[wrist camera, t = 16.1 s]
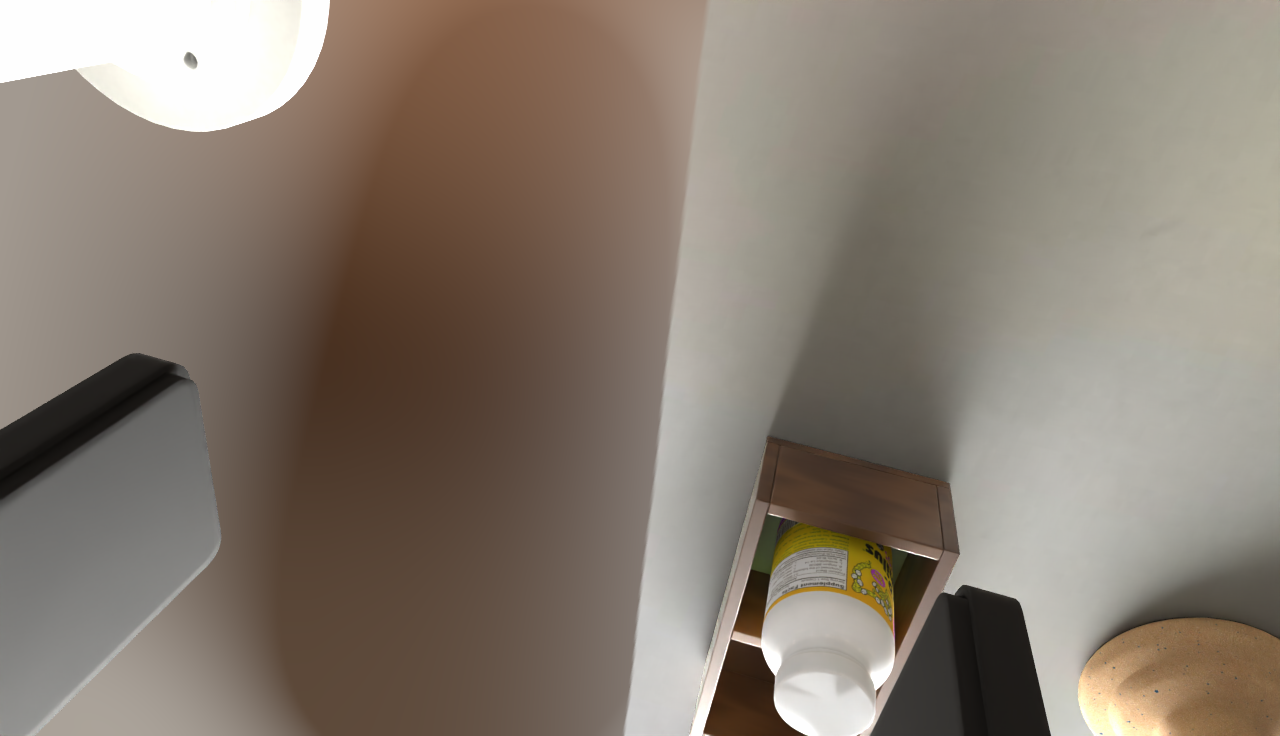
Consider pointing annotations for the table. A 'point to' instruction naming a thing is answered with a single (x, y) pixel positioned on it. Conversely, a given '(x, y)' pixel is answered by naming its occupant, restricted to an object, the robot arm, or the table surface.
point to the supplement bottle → (828, 628)
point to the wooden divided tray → (836, 501)
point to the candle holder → (1184, 681)
